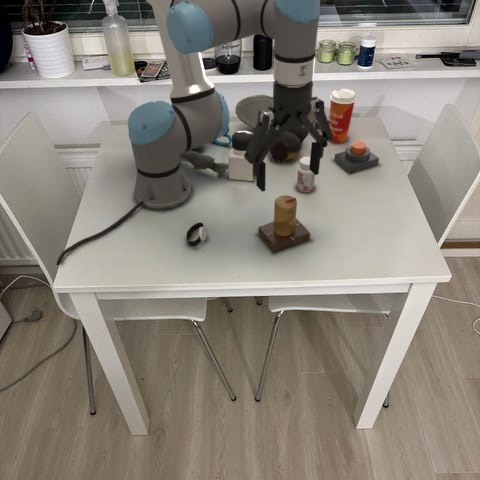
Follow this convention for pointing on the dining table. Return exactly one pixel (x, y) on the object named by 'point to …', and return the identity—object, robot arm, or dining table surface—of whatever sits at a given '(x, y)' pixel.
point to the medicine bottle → (240, 157)
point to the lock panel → (283, 237)
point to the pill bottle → (305, 176)
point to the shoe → (259, 109)
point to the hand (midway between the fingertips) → (287, 180)
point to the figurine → (289, 144)
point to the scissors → (224, 136)
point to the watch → (201, 234)
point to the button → (358, 148)
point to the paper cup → (341, 113)
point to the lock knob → (285, 215)
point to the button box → (356, 160)
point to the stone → (327, 113)
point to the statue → (204, 162)
